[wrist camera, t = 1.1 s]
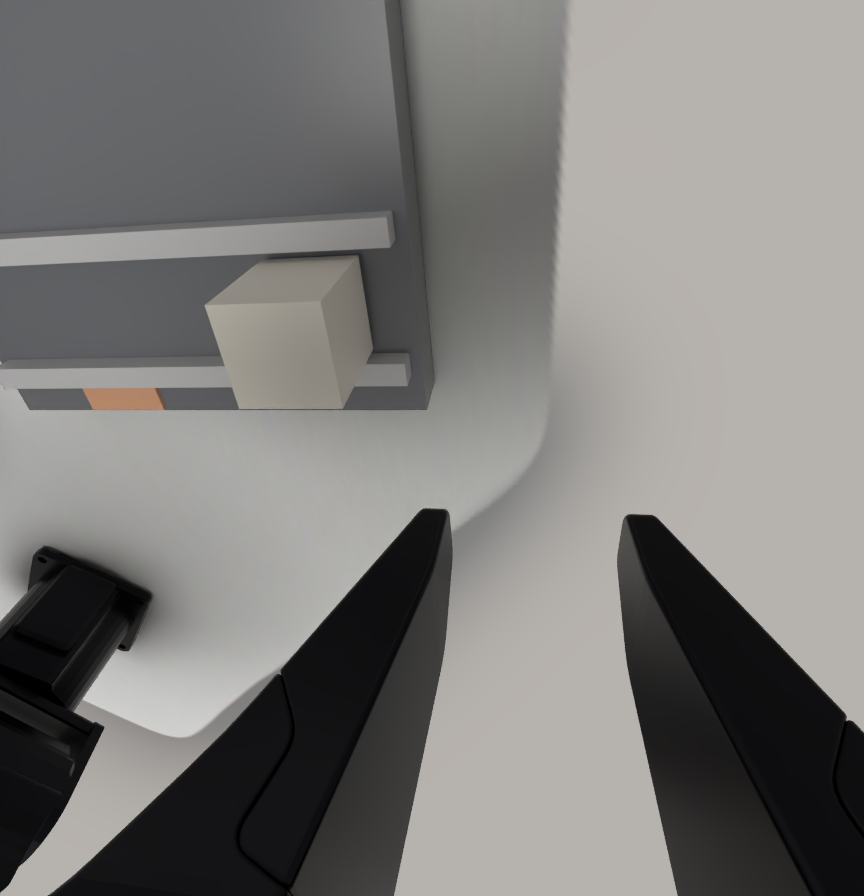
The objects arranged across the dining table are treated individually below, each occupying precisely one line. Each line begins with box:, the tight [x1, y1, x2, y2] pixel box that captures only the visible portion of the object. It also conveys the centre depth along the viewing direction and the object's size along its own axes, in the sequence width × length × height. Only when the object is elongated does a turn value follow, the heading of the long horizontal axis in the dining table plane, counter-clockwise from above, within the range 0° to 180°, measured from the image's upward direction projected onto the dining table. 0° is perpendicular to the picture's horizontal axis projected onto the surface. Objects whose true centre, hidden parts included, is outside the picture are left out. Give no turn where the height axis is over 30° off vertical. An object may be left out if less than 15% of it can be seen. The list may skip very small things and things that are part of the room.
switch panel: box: [0, 0, 434, 410], centre depth 15 cm, size 20×16×3 cm
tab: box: [205, 255, 373, 409], centre depth 16 cm, size 3×3×4 cm
